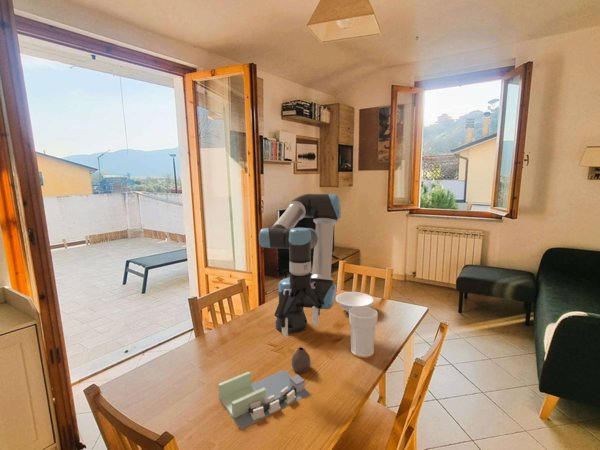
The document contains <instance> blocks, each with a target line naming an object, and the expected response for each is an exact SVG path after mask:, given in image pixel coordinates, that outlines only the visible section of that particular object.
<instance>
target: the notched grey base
mask: <svg viewBox="0 0 600 450" xmlns="http://www.w3.org/2000/svg"><path fill="white" fill-rule="evenodd" d="M292 390H295V391H296V387H295V386H292V388H291V389H290V390H289V391H288V392H287V393H286V394H284V395H283V396H281V397H279V398H278V399H276V400H279V404H281V403H283V402H284V401H285V400H287V394H288V393H289V392H291V391H292ZM276 400H274V401H276ZM274 401H272V402H274ZM272 402H270V403H272ZM270 403H268V404H265V405H263V408H264V412H265V411H267V410H268V409H270ZM260 407H262V406H260ZM258 408H259V407H258ZM253 409H256V408H253ZM253 409H251V408H249V413H253Z"/></svg>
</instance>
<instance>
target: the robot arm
mask: <svg viewBox="0 0 600 450" xmlns="http://www.w3.org/2000/svg"><path fill="white" fill-rule="evenodd" d="M340 201H341V199H340V197H339V196H338V194H336V193H335V194H333V193H331V194H330V193H305V194H302V195H299V196H297V197H295V198H293V199H292V200H291V201H290V202H289V203H288V204H287V205H286V209H285V211H284V212H283V213H282V214H281V216H280V217H279V218H278V219H277V220H276V222H274V223H273V225H272V226H271V227H266V228H265V227H263V228H261V229H260V230H259V234H258V242H259V245H260V246H261V247H262V248H268V249H288V252H289V253H288V254H289V255H288V256H289V260H288V261H289V263H288V264H289V266H288V267H289V277H285V278H284V279H281V280H280V281H279V282H278V291H277V293H278V305H277V306H276V310H275V312H274V317H276V320H275V329H276V330H277V331H279V332H281V335H283V336H285V337H286V338H287V337H289V334H297V333H301V332H304V331H306V329H307V328H308V319H307V316H306V313H305V309H304V308H308V309H312V311H311V313H312V314H311V316H312V317H311V320H312V321H311V323H312V324H314V325H315V326H316V327H318V326H319V319H320V317H319V316H320V315H321V314H320V313H321V310H331V309H332V308H333V306H334V304H335V301H336V296H337V287H338V286H337V284H336V283H334V279H333V277H332V276H331V275H332V261H333V260H332V258H333V243H334V231H335V230H334V227H335V225H336V224H337V223H338V220H339V219H341V218H342V211H341V210H342V208H341V202H340ZM304 218H307V219H308V218H310V219H311V218H312V221H313V223H314V224H315V229H314V228H311V227H295V226H297V224H298V223H299V221H302V219H304ZM312 249H313V256H312ZM312 259H313V260H312Z"/></svg>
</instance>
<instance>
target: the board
mask: <svg viewBox="0 0 600 450" xmlns="http://www.w3.org/2000/svg"><path fill="white" fill-rule="evenodd" d="M291 377H293V376H292V375H291V374H290V373H289V372H288V371H286V370H285V369H283V370H280V371H278V372H275V373H273V374H271V375H268V376H267V377H265V378H262V379H260V380H258V381H255V382H253V383H252V382H251V386H252V387H253V388H254V389H255V390H256V391H257V390H259V389H261V388H265V389H266V398H268V397H270V396H272V395H274V396H275V400H276V399H278V398H279V397H281V390H283V389H284V388H285V387H288V389H289V390H290V389H291V387H290V378H291ZM311 394H312V393H311V392H310V391H309V390H308V389H307V388H306V387H305V389H304V390H302V391H300V392H298V393H296V392H295V396H296V398H295V399H294V400H293V401H292V402H291V403H290V404H287V403H285V402H283V403H281V404H279V406H280V407H281V409H279V410H277V411H275V412H273V413H271V414H270V413H269V412H268V411H265V412H264V414H265V416H264V417H261V418H259V419H256V420H253V419H252V417H251V414H250V413H247V414H245V415H243V416H241V417H239V418H237V419H235V420H234V419H233V417H232V416H231V414H230V413H229V411H228V410H227V409H226V407H225V406H224V404H223V403H222V401H221V400H220V398H219V397H218V399H219V400H220V401H219V402H221V403H222V405H223V406H224V408H225V409H226V411H227V412H228V413H229V415H230V416H231V418H232V419H233V421H234V422H235V423H236V425H237V427H238V428H239V430H242V431H243V429H246V428H248V427H249V426H251V425H253V424H255V423H257V422H259V421H261V420H263V419H265V418H267V417H269V416H271V415H272V414H275V413H277V412H278V411H280V410H283V409H284V408H286V407H288V406H291V405H292V404H294V403H296V402H298V401H300V400H302V399H304V398H306V397H307V396H310V395H311Z"/></svg>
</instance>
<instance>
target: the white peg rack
mask: <svg viewBox="0 0 600 450" xmlns="http://www.w3.org/2000/svg"><path fill="white" fill-rule="evenodd" d="M292 386H295V387H296V391H295V390H292V391H291V392H289V393H288V394H287V400H285V401H284V402H285V403H287V404H290V403H291V402H292V401H293V400H294V399H295V398H296V396H295V392H296V393H298V392H300V391H302V390H304V389H305V388H306V383H305V378H303V377H301V375H299V373H298V374H295V375H293V376H292V377H291V378H290V387H291V388H292ZM288 391H289V389H288V387H285V388H284V389H283V390H281V396H283V395H284V394H286V393H287V392H288ZM274 400H275V396H274V395H272V396H270V397H268V398H266V399H265V404H268V403H270V402H272V401H274ZM290 405H291V404H290ZM260 406H261V402H260V401H257V402H254V403H251V404H250V408H251V409H253V408H256V409H253V413H250V414H251V417H252V419H253V420H256V419H259V418H261V417H264V416H265V414H264V408H263V406H262V407H260ZM258 407H259V408H258ZM279 409H281V407H280V406H279V400H276V401H274V402H272V403H270V409H268V410H267V411H268V412H269V413H270V414H271V413H273V412H275V411H277V410H279ZM281 410H282V409H281ZM279 411H280V410H279ZM277 412H278V411H277ZM275 413H276V412H275ZM273 414H274V413H273ZM271 415H272V414H271Z"/></svg>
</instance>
